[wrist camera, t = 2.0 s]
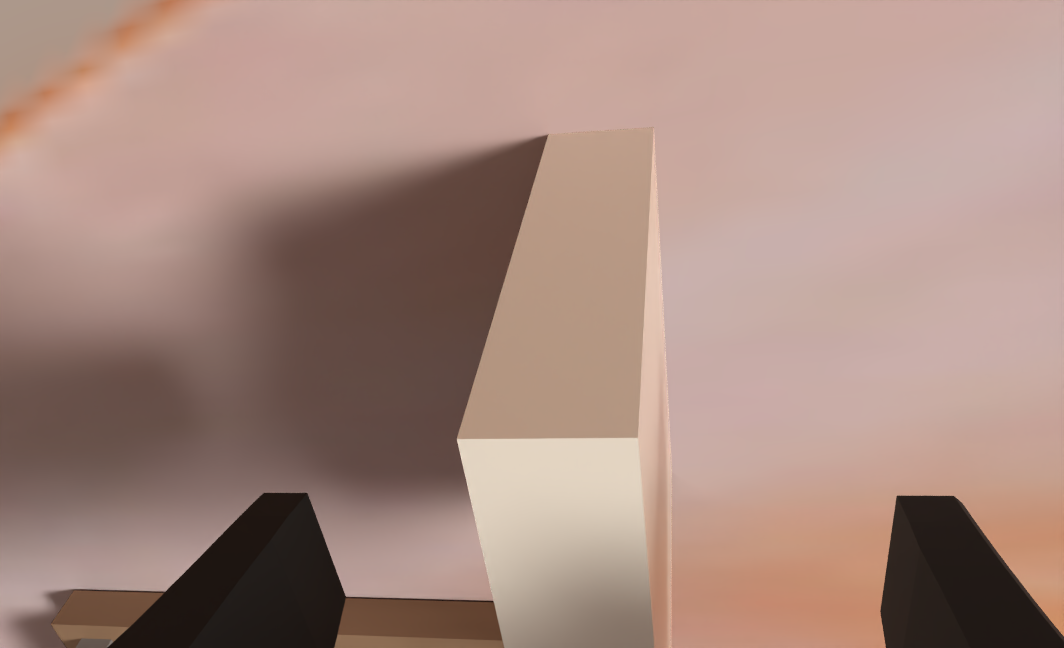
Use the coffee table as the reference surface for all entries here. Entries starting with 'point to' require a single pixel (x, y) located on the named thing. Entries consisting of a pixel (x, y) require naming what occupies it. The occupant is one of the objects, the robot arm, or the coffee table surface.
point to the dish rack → (363, 637)
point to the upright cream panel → (578, 408)
